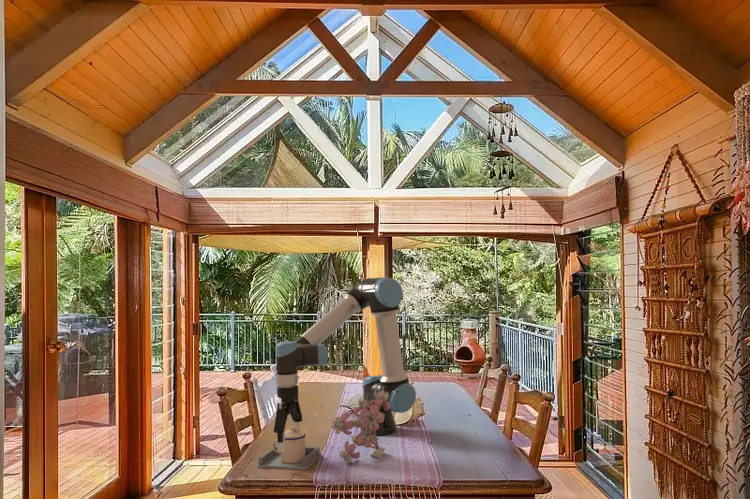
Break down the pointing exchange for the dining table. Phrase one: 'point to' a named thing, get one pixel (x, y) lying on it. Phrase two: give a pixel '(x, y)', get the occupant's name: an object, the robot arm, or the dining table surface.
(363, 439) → the flower
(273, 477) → the dining table surface
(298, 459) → the teacup with lid
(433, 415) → the dining table surface
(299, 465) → the grey shallow square tray
